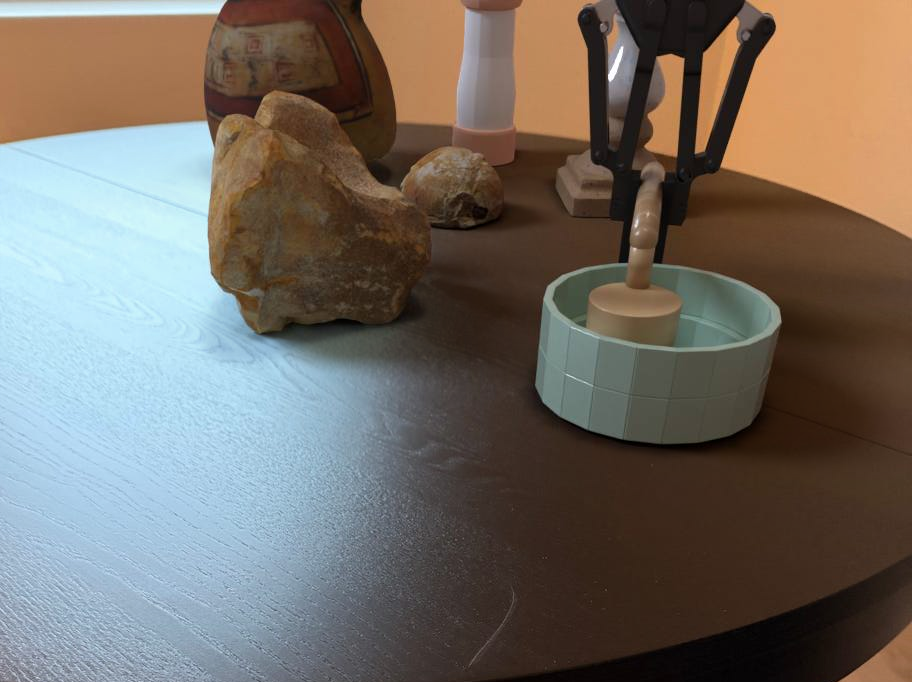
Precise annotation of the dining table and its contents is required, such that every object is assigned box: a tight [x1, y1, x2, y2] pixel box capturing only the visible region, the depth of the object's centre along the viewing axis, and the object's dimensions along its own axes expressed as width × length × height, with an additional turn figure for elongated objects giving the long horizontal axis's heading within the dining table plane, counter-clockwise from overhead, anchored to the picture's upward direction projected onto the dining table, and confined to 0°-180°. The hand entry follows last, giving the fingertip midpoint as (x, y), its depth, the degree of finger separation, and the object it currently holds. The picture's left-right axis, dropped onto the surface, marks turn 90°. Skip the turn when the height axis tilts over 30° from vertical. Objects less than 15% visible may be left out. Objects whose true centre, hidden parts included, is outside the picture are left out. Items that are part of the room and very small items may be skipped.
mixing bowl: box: [534, 262, 783, 445], centre depth 69 cm, size 15×15×7 cm
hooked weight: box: [586, 161, 682, 347], centre depth 73 cm, size 22×6×9 cm, turn 168°
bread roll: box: [400, 145, 505, 230], centre depth 102 cm, size 10×10×8 cm
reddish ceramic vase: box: [203, 0, 398, 165], centre depth 104 cm, size 20×20×30 cm
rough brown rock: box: [207, 91, 433, 335], centre depth 79 cm, size 23×17×15 cm
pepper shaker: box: [451, 0, 524, 167], centre depth 114 cm, size 7×7×19 cm
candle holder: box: [555, 10, 667, 218], centre depth 101 cm, size 11×11×24 cm
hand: (639, 265), depth 79 cm, fingers closed on hooked weight, 2 cm apart
